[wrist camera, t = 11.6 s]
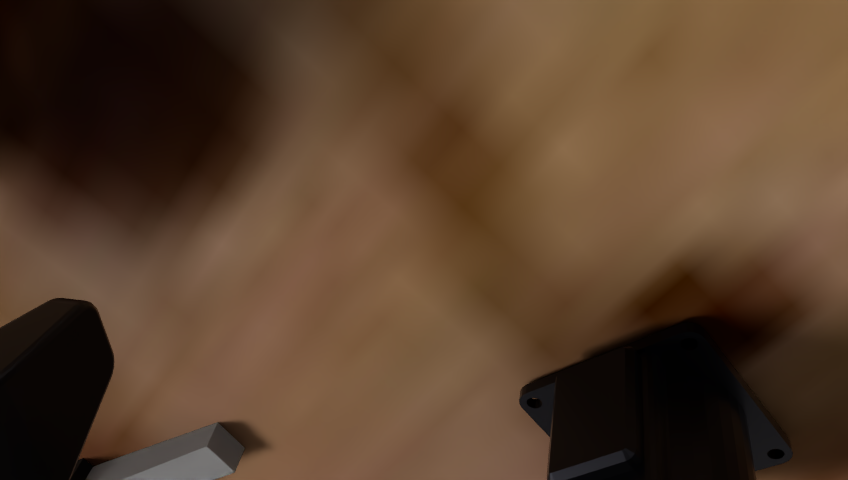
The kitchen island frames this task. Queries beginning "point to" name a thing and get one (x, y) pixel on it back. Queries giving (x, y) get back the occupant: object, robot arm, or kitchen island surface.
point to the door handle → (172, 459)
